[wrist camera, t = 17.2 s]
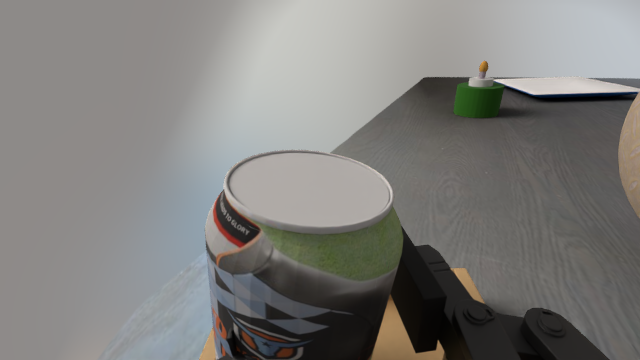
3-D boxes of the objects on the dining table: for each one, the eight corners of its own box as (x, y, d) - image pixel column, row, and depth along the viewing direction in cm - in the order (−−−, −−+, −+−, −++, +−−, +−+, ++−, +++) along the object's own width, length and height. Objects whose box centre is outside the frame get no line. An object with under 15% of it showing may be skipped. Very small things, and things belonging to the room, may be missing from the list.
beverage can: (227, 360, 16) (161, 152, 10) (354, 321, 17) (354, 126, 12) (227, 531, 10) (83, 281, 5) (412, 451, 12) (463, 198, 6)
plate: (645, 100, 62) (649, 90, 61) (531, 103, 65) (534, 93, 64) (575, 83, 81) (578, 76, 80) (491, 86, 84) (492, 79, 83)
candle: (459, 106, 65) (467, 59, 60) (501, 110, 60) (513, 58, 56) (448, 115, 59) (455, 63, 55) (493, 119, 54) (505, 63, 50)
